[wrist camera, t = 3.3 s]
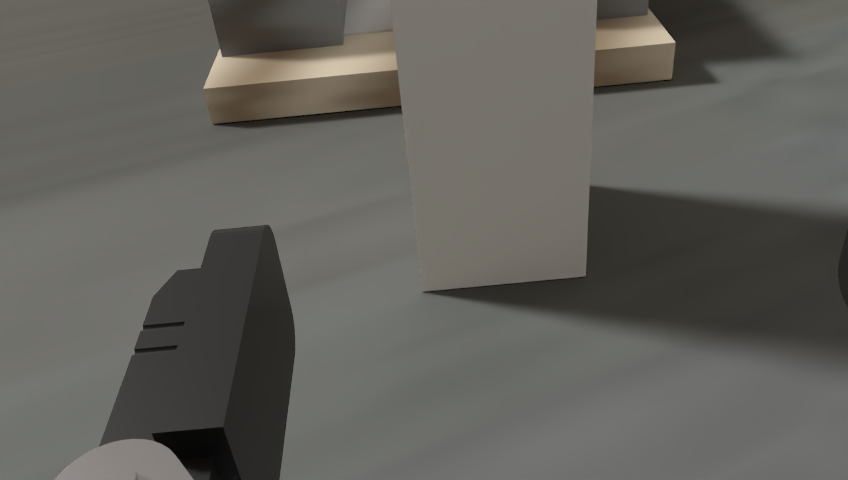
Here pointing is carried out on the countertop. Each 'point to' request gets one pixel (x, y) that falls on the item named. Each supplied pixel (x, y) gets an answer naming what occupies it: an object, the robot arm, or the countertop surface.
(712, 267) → the countertop surface
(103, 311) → the countertop surface
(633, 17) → the board
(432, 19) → the white block
